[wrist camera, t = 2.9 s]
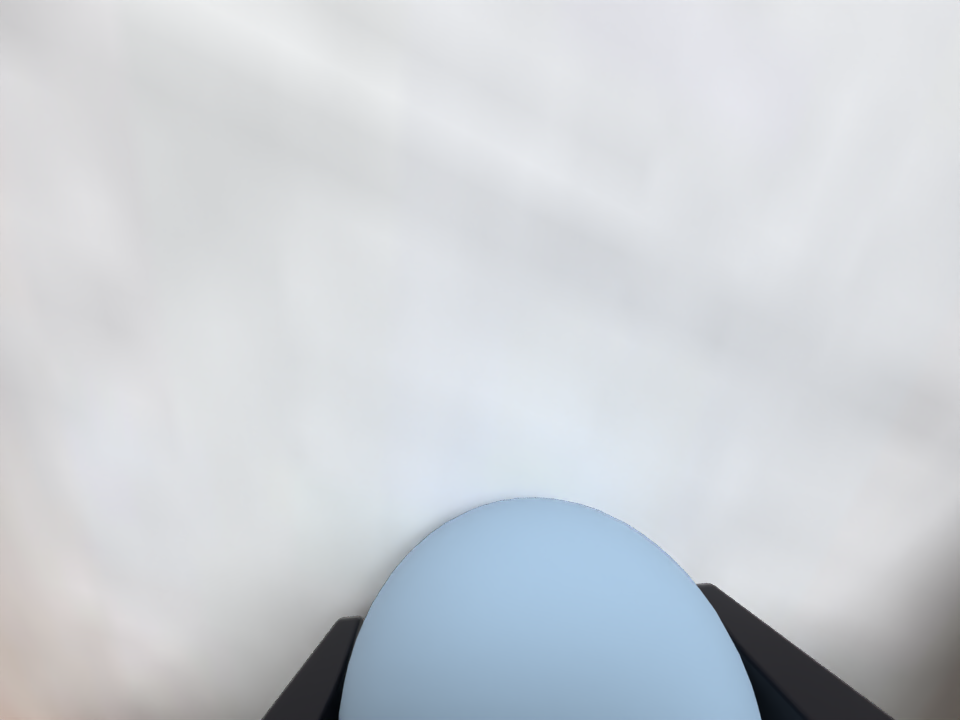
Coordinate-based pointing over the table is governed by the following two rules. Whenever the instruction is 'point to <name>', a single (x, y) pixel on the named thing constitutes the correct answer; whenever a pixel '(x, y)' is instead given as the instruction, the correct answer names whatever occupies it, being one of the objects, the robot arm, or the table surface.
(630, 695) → the ball
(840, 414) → the table surface
